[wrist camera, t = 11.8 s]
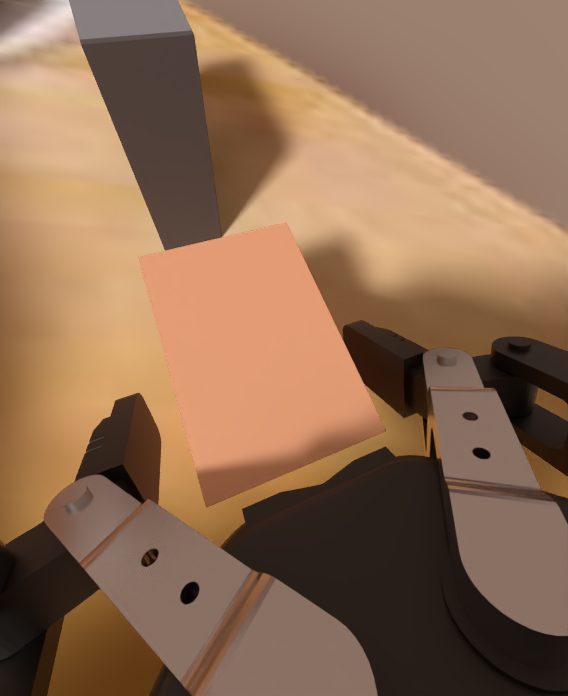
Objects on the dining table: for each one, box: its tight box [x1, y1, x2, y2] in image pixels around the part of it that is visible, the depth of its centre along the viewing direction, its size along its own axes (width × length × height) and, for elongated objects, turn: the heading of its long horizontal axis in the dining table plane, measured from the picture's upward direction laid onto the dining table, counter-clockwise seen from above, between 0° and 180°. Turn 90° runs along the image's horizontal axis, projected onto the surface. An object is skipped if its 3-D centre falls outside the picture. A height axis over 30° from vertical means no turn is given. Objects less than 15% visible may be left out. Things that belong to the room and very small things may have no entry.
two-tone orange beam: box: [138, 222, 386, 508], centre depth 12 cm, size 6×4×11 cm
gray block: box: [69, 0, 222, 250], centre depth 18 cm, size 12×4×11 cm, turn 21°
